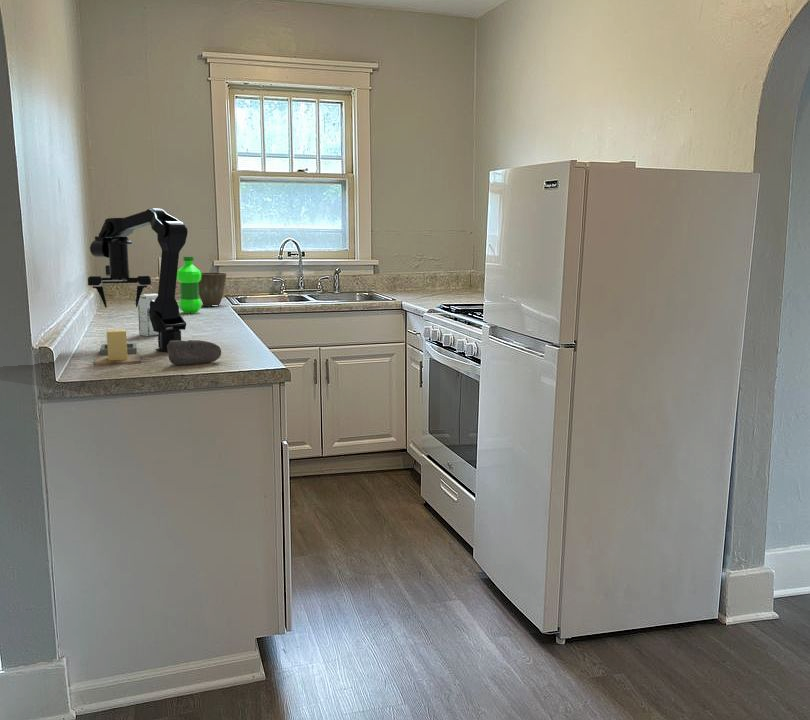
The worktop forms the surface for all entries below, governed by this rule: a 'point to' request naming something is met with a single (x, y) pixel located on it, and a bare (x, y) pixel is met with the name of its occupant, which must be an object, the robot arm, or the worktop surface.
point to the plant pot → (211, 288)
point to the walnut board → (104, 360)
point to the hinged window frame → (130, 349)
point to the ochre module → (117, 344)
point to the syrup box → (146, 315)
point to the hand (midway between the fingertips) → (121, 307)
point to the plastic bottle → (189, 286)
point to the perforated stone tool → (192, 352)
